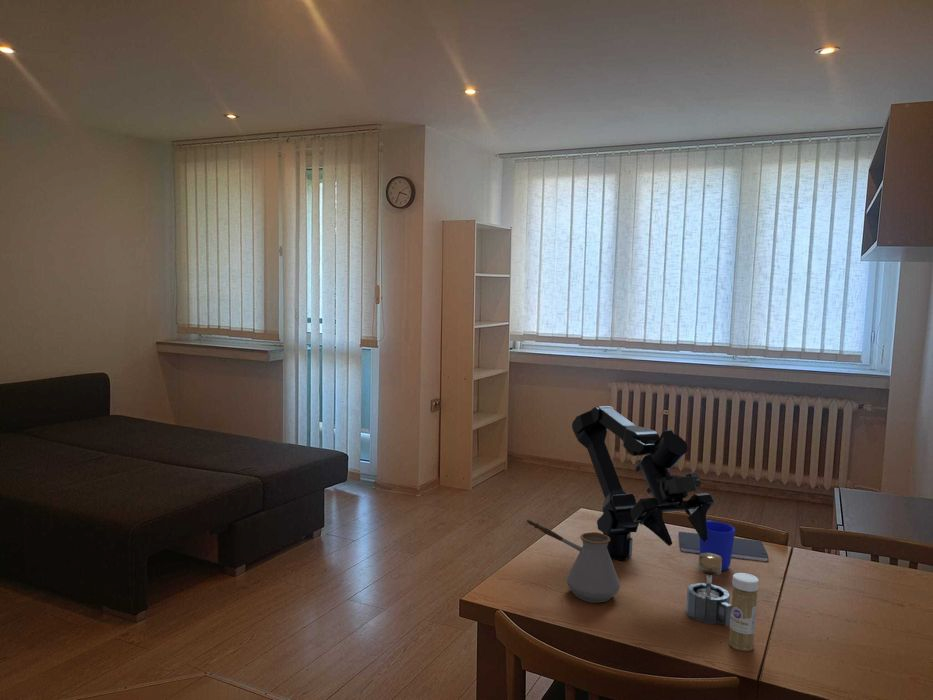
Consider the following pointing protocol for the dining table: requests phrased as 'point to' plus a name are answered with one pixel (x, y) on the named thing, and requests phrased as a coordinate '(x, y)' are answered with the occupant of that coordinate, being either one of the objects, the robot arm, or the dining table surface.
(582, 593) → the coffee pot
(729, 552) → the mug
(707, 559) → the plunger
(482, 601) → the dining table surface
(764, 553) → the notebook
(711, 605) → the press body
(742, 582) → the sprinkles bottle
